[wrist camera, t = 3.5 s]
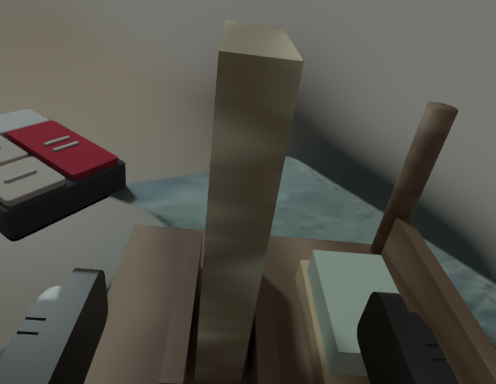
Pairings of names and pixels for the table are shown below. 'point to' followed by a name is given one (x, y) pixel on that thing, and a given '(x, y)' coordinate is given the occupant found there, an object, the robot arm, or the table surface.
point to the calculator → (49, 173)
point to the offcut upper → (344, 302)
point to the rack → (280, 293)
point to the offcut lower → (317, 335)
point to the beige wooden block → (243, 187)
